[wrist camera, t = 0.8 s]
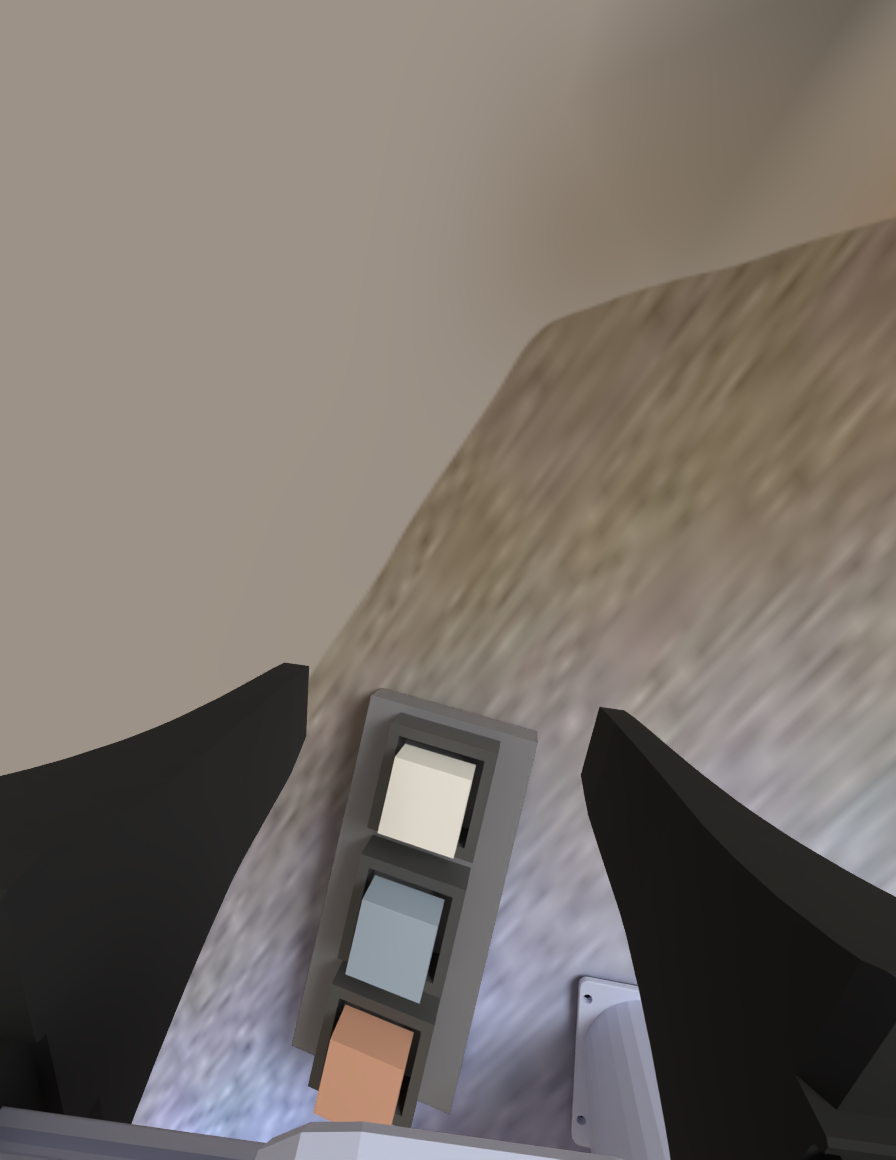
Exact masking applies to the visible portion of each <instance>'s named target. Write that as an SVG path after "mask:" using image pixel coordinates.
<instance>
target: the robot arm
mask: <svg viewBox="0 0 896 1160" xmlns="http://www.w3.org/2000/svg"><path fill="white" fill-rule="evenodd" d="M308 679H309V666H305V665H297V664H290V663H283V664H281V665H279V666H277V667H275V668H273V669H271V670H269V671H267V672H266V673H264V674H262V675H260V676H258V677H257V678H255V679H253V680H251V681H249V682H247V683H246V684H244V685H242V686H240V687H238V688H236V689H234V690H233V691H231V692H229V693H227V694H225V695H223V696H222V697H220V698H218V699H216V700H214V701H211V702H209V703H207V704H205V705H203V706H201V707H199V708H197V709H195V710H193V711H191V712H189V713H187V714H185V715H183V716H181V717H179V718H176V719H174V720H172V721H170V722H167V723H165V724H163V725H160V726H158V727H156V728H153V729H150V730H148V731H145V732H143V733H140V734H138V735H135V736H133V737H130V738H127V739H124V740H122V741H119V742H116V743H113V744H110V745H107V746H104V747H101V748H98V749H94V750H92V751H89V752H85V753H82V754H79V755H76V756H73V757H70V758H67V759H63V760H60V761H56V762H53V763H49V764H45V765H42V766H39V767H34V768H31V769H27V770H23V771H19V772H15V773H11V774H7V775H3V776H0V1160H896V897H895V896H893V895H891V894H889V893H887V892H885V891H883V890H881V889H879V888H877V887H876V886H874V885H872V884H870V883H868V882H866V881H865V880H863V879H861V878H859V877H857V876H855V875H854V874H852V873H850V872H848V871H846V870H845V869H843V868H841V867H840V866H838V865H836V864H834V863H833V862H831V861H829V860H828V859H826V858H824V857H822V856H821V855H819V854H817V853H816V852H814V851H812V850H811V849H809V848H807V847H806V846H804V845H802V844H801V843H799V842H798V841H796V840H794V839H793V838H791V837H789V836H788V835H786V834H785V833H783V832H782V831H780V830H779V829H777V828H776V827H774V826H773V825H771V824H770V823H768V822H767V821H765V820H764V819H762V818H761V817H759V816H758V815H756V814H755V813H753V812H752V811H750V810H749V809H748V808H746V807H745V806H743V805H742V804H741V803H739V802H738V801H737V800H735V799H734V798H732V797H731V796H730V795H729V794H727V793H726V792H725V791H723V790H722V789H721V788H719V787H718V786H717V785H715V784H714V783H713V782H711V781H710V780H709V779H708V778H706V777H705V776H704V775H703V774H701V773H700V772H699V771H698V770H696V769H695V768H694V767H693V766H691V765H690V764H689V763H688V762H687V761H685V760H684V759H683V758H682V757H681V756H679V755H678V754H677V753H676V752H675V751H673V750H672V749H671V748H670V747H669V746H667V745H666V744H665V743H664V742H663V741H662V740H660V739H659V738H658V737H657V736H656V735H655V734H653V733H652V732H651V731H650V730H649V729H647V728H646V727H645V726H644V725H643V724H641V723H640V722H639V721H638V720H636V719H635V718H634V717H633V716H631V715H630V714H629V713H627V712H626V711H624V710H617V709H610V708H603V707H599V711H598V715H597V718H596V722H595V726H594V729H593V733H592V736H591V740H590V744H589V747H588V751H587V755H586V758H585V762H584V766H583V769H582V773H581V778H582V784H583V790H584V796H585V801H586V806H587V811H588V815H589V819H590V822H591V825H592V828H593V832H594V835H595V838H596V841H597V844H598V847H599V850H600V853H601V856H602V859H603V863H604V866H605V869H606V872H607V875H608V878H609V881H610V884H611V887H612V890H613V893H614V896H615V899H616V902H617V905H618V908H619V911H620V915H621V918H622V922H623V925H624V929H625V932H626V936H627V940H628V945H629V949H630V953H631V958H632V962H633V967H634V971H635V975H636V980H637V984H638V986H634V985H629V984H623V983H618V982H613V981H608V980H602V979H597V978H592V977H583V978H581V979H580V980H579V987H578V1006H577V1025H576V1044H575V1063H574V1083H573V1102H572V1121H571V1134H572V1139H573V1141H574V1142H575V1143H576V1144H577V1145H580V1146H583V1147H587V1148H590V1150H591V1153H585V1152H578V1151H571V1150H563V1149H556V1148H549V1147H542V1146H535V1145H528V1144H521V1143H513V1142H506V1141H499V1140H492V1139H485V1138H478V1137H471V1136H464V1135H456V1134H449V1133H442V1132H435V1131H428V1130H421V1129H414V1128H406V1127H399V1126H392V1125H385V1124H378V1123H371V1122H364V1121H356V1122H310V1123H307V1124H305V1125H303V1126H300V1127H298V1128H296V1129H293V1130H291V1131H289V1132H286V1133H284V1134H281V1135H279V1136H277V1137H274V1138H272V1139H271V1140H270V1141H269V1142H268V1143H261V1142H254V1141H247V1140H240V1139H233V1138H226V1137H219V1136H211V1135H204V1134H197V1133H190V1132H183V1131H176V1130H169V1129H161V1128H154V1127H147V1126H140V1125H133V1124H131V1123H132V1121H133V1118H134V1115H135V1113H136V1110H137V1108H138V1105H139V1102H140V1100H141V1097H142V1095H143V1092H144V1090H145V1087H146V1084H147V1082H148V1079H149V1077H150V1074H151V1072H152V1069H153V1066H154V1064H155V1061H156V1059H157V1056H158V1054H159V1051H160V1049H161V1046H162V1044H163V1041H164V1039H165V1036H166V1034H167V1031H168V1029H169V1027H170V1024H171V1022H172V1019H173V1017H174V1014H175V1012H176V1009H177V1007H178V1004H179V1002H180V1000H181V997H182V995H183V992H184V990H185V987H186V985H187V982H188V980H189V978H190V975H191V973H192V971H193V968H194V966H195V964H196V961H197V959H198V957H199V954H200V952H201V950H202V947H203V945H204V943H205V940H206V938H207V936H208V933H209V931H210V929H211V926H212V924H213V922H214V920H215V917H216V915H217V913H218V911H219V909H220V906H221V904H222V902H223V900H224V897H225V895H226V893H227V891H228V888H229V886H230V884H231V882H232V880H233V878H234V876H235V874H236V872H237V870H238V868H239V866H240V864H241V862H242V860H243V858H244V856H245V855H246V853H247V851H248V849H249V848H250V846H251V844H252V842H253V840H254V839H255V837H256V835H257V833H258V832H259V830H260V828H261V826H262V824H263V823H264V821H265V819H266V817H267V816H268V814H269V812H270V810H271V809H272V807H273V805H274V803H275V801H276V800H277V798H278V796H279V794H280V792H281V791H282V789H283V787H284V785H285V783H286V782H287V780H288V778H289V776H290V774H291V772H292V770H293V767H294V765H295V763H296V760H297V758H298V755H299V753H300V750H301V748H302V745H303V743H304V740H305V737H306V725H307V702H308ZM586 994H588V995H590V997H589V998H586V997H584V995H586ZM579 1116H583V1117H579Z"/></svg>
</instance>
